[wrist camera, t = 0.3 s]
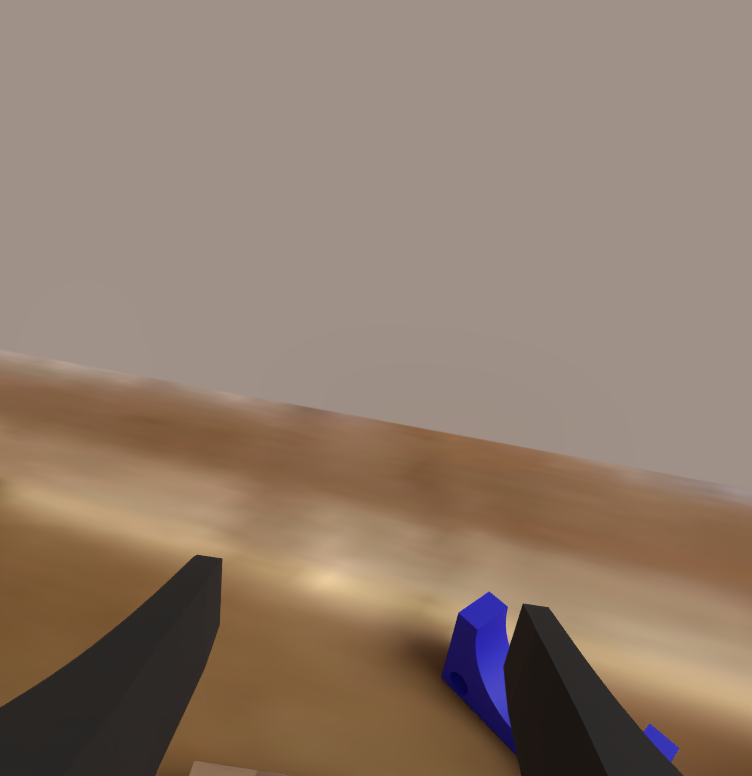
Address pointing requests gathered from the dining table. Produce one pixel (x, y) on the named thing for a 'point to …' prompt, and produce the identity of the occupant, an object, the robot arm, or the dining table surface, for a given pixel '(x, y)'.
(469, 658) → the cable clip
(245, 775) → the square hole board
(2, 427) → the dining table surface
